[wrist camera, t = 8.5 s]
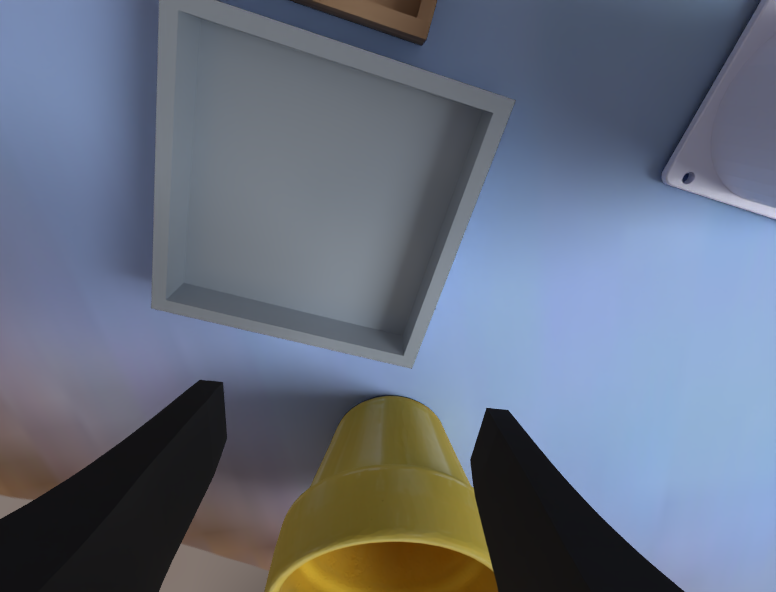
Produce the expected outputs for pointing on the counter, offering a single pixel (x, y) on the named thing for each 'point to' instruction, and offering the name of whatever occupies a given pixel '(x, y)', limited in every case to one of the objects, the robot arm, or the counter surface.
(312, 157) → the dish
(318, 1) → the tray
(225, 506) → the counter surface
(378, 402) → the plant pot
